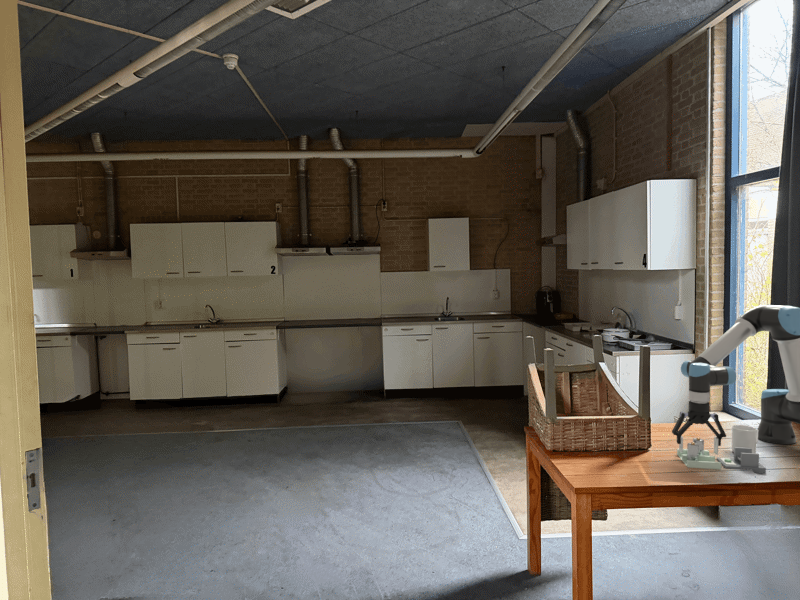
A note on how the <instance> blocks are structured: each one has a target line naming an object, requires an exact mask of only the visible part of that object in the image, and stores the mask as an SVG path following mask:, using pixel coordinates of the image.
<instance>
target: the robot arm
mask: <svg viewBox="0 0 800 600" xmlns="http://www.w3.org/2000/svg"><path fill="white" fill-rule="evenodd" d="M761 332H770V334H771V338H772V341H775V342H776V343H777V346H778V350H779V355H780V359H781V364H782V367H783V369H782V370H783V373H784V376H785V377H784V378H785V382H786V386H787V389H784V388H771V389H770V388H769V389H767V388H766V389H764V390H762V392H761V396H760V422H759V423H758V424H759V425H758V426H757V428H756V429H757V430H759V431H758V440H760V441H762V442H766V443H767V442H768V443H771V444H777V445H778V444H779V445H792V444H793V445H794V444H795V443H797V436H796V435H797V434H796V433H795V431H794V427H793V424H792V423H795V424H799V425H800V307H798V306H793V305H780V304H779V305H776V304H775V305H774V304H761V305H757V306H755V307H753V308H751V309H749V310H747V311H745V312H744V313H742V314H741V315H740V316H739V317H737V318H736V319H735V321H734V325H732V326H731V327H729V329H728V330H726V332H724V333H723V334H722V335H721V336H719V338H717V339H716V340H715V341H714V342H713V343H711V344H710V345H709V346H708V347H707V348H705V350H704V351H703V352H701V353H700V354H699V355H698V356H696V358H694V359H693V360H691V359H690V360H685V361H683V362H682V363H681V367H680V372H681V374H682V375H683V376H684V377H686V378H688V400H689V401H688V412H683V411H680V412H679V416H678V419H677V421H675V425H674V426H673V429H672V430H671V434H673V435H674V436H676V444H677V445H678V449H679V451H680V452H681V453H683V449H684V436H683V434H684V433H686V432H687V430H688V429H689V428H690V427H691V426H693V424H695V425H698V424H699V425H705V424H706V426H707V427H708V429H710V430H711V432H712V433H713V434H714V435H715V436H714V437H713V453H714V454H715V455H719V447H721V445H722V439H723V438H726V437H727V434H726V432H725V430H724V428H723V426H722V424H721V422H720V420H719V414H717V413H716V412H714V413H710V405H711V404H710V401H711V400H710V397H711V394H710V391H711V387H716V386H728V385H732V384H734V383H735V382H736V381H737V373H736V371H735V369H734V368H733V367H731V366H724V365H723V366H718V364H719V363H721V362H722V361H723V360H724V359H726V357H727V356H729V355H730V354H731V353H732V352H733V351H735V349H737V348H738V347H739V346H740V345H741V344H742V343H744V342H745V341H746V340H747V339H748V338H749V337H753V336H755V335H757V334H759V333H761ZM687 417H688V419H687V420H686V422H685V423H684V424H683V422H684V420H685V419H686V418H687ZM710 419H712V420H713V421H714V424H715V425H716V427H717V429H718V431H719V432H718V431H717V430H716V429H715V428H714V426H713V425H712V423H710V421H709V420H710ZM682 424H683V425H682ZM681 426H682V427H681Z"/></svg>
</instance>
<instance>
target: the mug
mask: <svg viewBox="0 0 800 600" xmlns="http://www.w3.org/2000/svg"><path fill="white" fill-rule="evenodd" d="M757 429H758V428H756V427H753V426H750V425H745V424H733V425H732V426H731V451H732V452H733V453H734V447H742V448H752V453H757V444H758V442H759V439H758V431H759V430H757Z"/></svg>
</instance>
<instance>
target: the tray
mask: <svg viewBox="0 0 800 600" xmlns="http://www.w3.org/2000/svg"><path fill="white" fill-rule="evenodd" d="M676 455H677V456H678V458H679V459H680V460H681V461H682V462H683V464H684V465H685V466H686V467H687V468H691V469H692V468H693V469H707V470H708V469H710V470H722V464H721V462H719V461H716V456H714V455H710V451H709V450H708V449H704V455H699V461H692V460H687V448H683V453H681V452H680V451H679V448H677V449H676Z"/></svg>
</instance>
